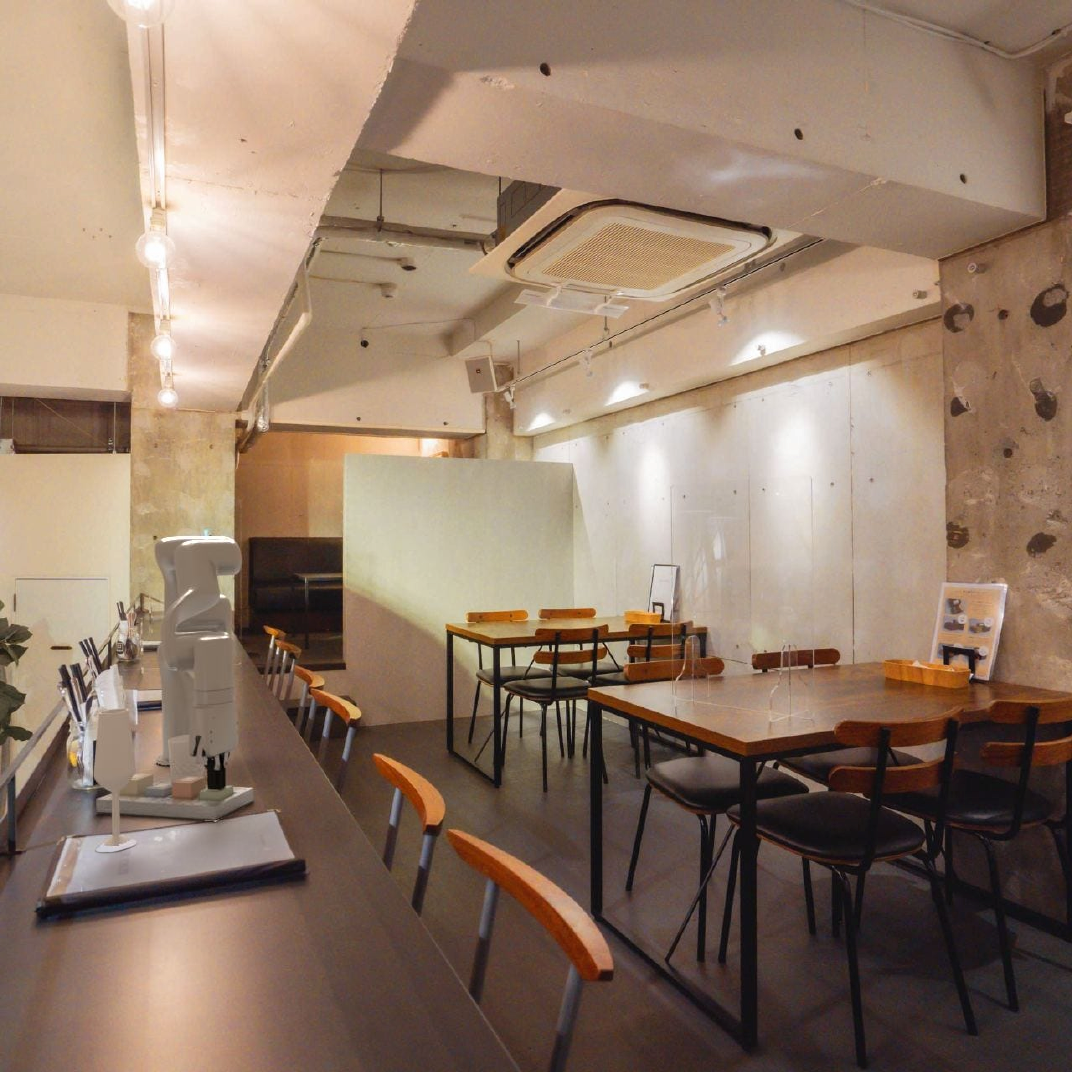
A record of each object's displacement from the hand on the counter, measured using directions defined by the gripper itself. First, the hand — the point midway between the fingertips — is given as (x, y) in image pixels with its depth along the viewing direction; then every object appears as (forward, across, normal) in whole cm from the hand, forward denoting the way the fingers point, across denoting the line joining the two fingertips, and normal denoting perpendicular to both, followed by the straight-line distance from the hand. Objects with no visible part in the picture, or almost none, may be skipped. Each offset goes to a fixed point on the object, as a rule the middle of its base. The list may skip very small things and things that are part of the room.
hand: (216, 788), depth 156 cm
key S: (+2, 0, -20) cm, 20 cm away
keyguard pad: (+5, 0, -10) cm, 11 cm away
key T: (+4, 0, -13) cm, 14 cm away
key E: (+4, 0, 0) cm, 4 cm away
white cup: (+5, -17, -21) cm, 27 cm away
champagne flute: (+5, +20, -6) cm, 21 cm away
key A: (+2, 0, -7) cm, 7 cm away
